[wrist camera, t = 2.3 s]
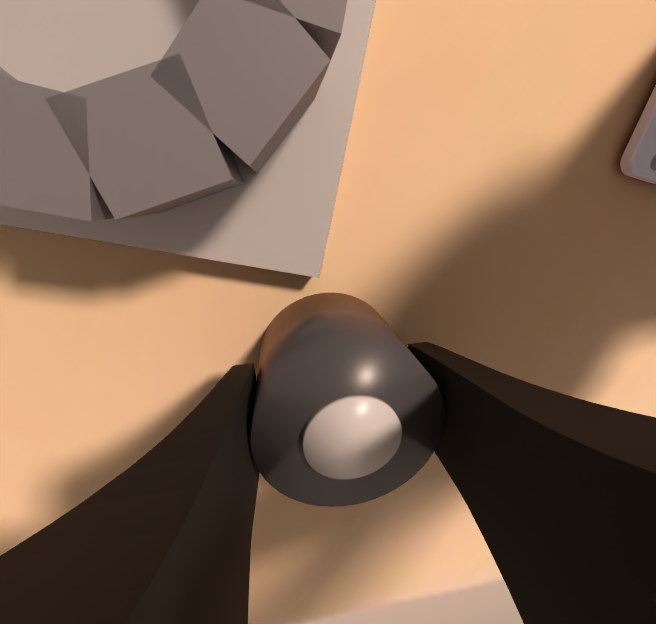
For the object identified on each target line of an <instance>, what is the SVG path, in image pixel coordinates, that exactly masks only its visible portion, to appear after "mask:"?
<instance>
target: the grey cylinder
mask: <svg viewBox="0 0 656 624" xmlns="http://www.w3.org/2000/svg"><path fill="white" fill-rule="evenodd" d="M444 415H445V410H444V403H443V399H442V395H441V392H440V390H439V388H438V386H437V384H436V382H435V381H434V379H433V378H432V377H431V375H430V374H429V373H428V372H427V370H426V369H425V368H424V367H423V366H422V365H421V363H420V362H419V361H418V360H417V359H416V357H415V356H414V355H413V354H412V353H411V351H410V350H409V349H408V348H407V347H406V346H405V344H404V343H403V342H402V341H401V340H400V338H399V337H398V336H397V335H396V334H395V333H394V331H393V330H392V329H391V328H390V327H389V325H388V324H387V323H386V322H385V321H384V320H383V318H382V317H381V316H380V315H379V314H378V313H377V312H376V311H375V310H374V309H373V308H372V307H371V306H370V305H368V304H367V303H366V302H364V301H362V300H360V299H358V298H356V297H353V296H350V295H346V294H341V293H321V294H314V295H311V296H307V297H304V298H302V299H300V300H297V301H296V302H294V303H292V304H290V305H289V306H287V307H286V308H285V309H284V310H282V311H281V312H280V313H279V314H278V315H277V316H276V317H275V318H274V319H273V321H272V322H271V323H270V325H269V326H268V328H267V330H266V332H265V334H264V337H263V339H262V343H261V347H260V356H259V365H258V374H257V383H256V392H255V401H254V411H253V420H252V429H251V450H252V454H253V458H254V461H255V463H256V466H257V468H258V470H259V471H260V473H261V474H262V476H263V477H264V479H265V480H266V481H267V482H268V483H269V484H270V485H271V486H272V487H274V488H275V489H276V490H278V491H279V492H280V493H282V494H284V495H286V496H288V497H289V498H292V499H294V500H297V501H300V502H303V503H307V504H311V505H318V506H331V507H332V506H346V505H354V504H358V503H362V502H366V501H369V500H372V499H375V498H378V497H380V496H382V495H385V494H387V493H389V492H391V491H392V490H394V489H396V488H398V487H399V486H401V485H402V484H404V483H405V482H407V481H408V480H409V479H410V478H411V477H413V476H414V475H415V474H416V473H417V472H418V471H419V470H420V469H421V468H422V467H423V466H424V464H425V463H426V462H427V461H428V460H429V458H430V457H431V455H432V454H433V452H434V450H435V448H436V446H437V444H438V442H439V440H440V437H441V434H442V431H443V425H444Z"/></svg>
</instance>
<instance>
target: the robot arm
mask: <svg viewBox="0 0 656 624" xmlns="http://www.w3.org/2000/svg"><path fill="white" fill-rule="evenodd" d="M620 168H621V170H622V172H623V173H624V174H625V175H627V176H630V177H633V178H636V179H639V180H643V181H646V182H649V183H652V184H656V85H655V87H654V90H653V92H652V94H651V96H650V98H649V100H648V102H647V104H646V107H645V109H644V111H643V113H642V115H641V117H640V119H639V121H638V124H637V126H636V128H635V130H634V132H633V134H632V136H631V138H630V141H629V143H628V145H627V147H626V149H625V151H624V153H623V155H622V158H621V162H620ZM408 349H409V350H410V351H411V353H412V354H413V355H414V356H415V357H416V359H417V360H418V361H419V362H420V363H421V365H422V366H423V367H424V368H425V369H426V370H427V372H428V373H429V374H430V375H431V377H432V378H433V379H434V381H435V382H436V384H437V386H438V388H439V390H440V392H441V395H442V399H443V403H444V410H445V415H444V425H443V431H442V434H441V437H440V440H439V442H438V444H437V446H436V448H435V450H434V451H435V453H436V455H437V456H438V458H439V459H440V461H441V463H442V464H443V466H444V467H445V469H446V471H447V472H448V474H449V475H450V477H451V479H452V480H453V482H454V483H455V485H456V486H457V488H458V490H459V491H460V493H461V495H462V497H463V498H464V500H465V502H466V504H467V505H468V507H469V509H470V511H471V513H472V515H473V517H474V519H475V521H476V523H477V525H478V527H479V529H480V531H481V533H482V535H483V537H484V539H485V541H486V543H487V545H488V547H489V549H490V551H491V554H492V556H493V558H494V560H495V562H496V564H497V566H498V568H499V570H500V572H501V574H502V577H503V579H504V581H505V583H506V585H507V587H508V589H509V591H510V593H511V596H512V598H513V600H514V603H515V605H516V607H517V609H518V611H519V613H520V616H521V618H522V620H523V623H524V624H656V418H655V417H651V416H646V415H641V414H637V413H632V412H628V411H624V410H620V409H616V408H612V407H608V406H604V405H600V404H596V403H592V402H588V401H585V400H581V399H578V398H574V397H571V396H568V395H564V394H561V393H558V392H555V391H551V390H548V389H545V388H542V387H539V386H536V385H533V384H530V383H527V382H525V381H522V380H519V379H517V378H514V377H511V376H509V375H506V374H503V373H501V372H499V371H496V370H494V369H491V368H489V367H486V366H484V365H482V364H479V363H477V362H475V361H472V360H470V359H468V358H465V357H463V356H461V355H458V354H456V353H454V352H451V351H449V350H447V349H444V348H442V347H439V346H437V345H434V344H431V343H428V342H423V343H415V344H408ZM256 383H257V380H256V374H255V368H254V363H252V364H244V365H235V366H233V367H232V368H231V369H230V370H229V371H228V372H227V373H226V374H225V375H224V377H223V378H222V379H221V380H220V381H219V382H218V384H217V385H216V386H215V387H214V388H213V389H212V391H211V392H210V393H209V394H208V395H207V396H206V397H205V398H204V399H203V400H202V402H201V403H200V404H199V405H198V406H197V407H196V408H195V409H194V410H193V411H192V412H191V413H190V414H189V415H188V416H187V417H186V418H185V419H184V420H183V421H182V422H181V423H180V424H179V425H178V426H177V427H176V428H175V429H174V430H173V431H172V432H171V433H170V434H169V435H168V436H166V437H165V438H164V439H163V440H162V441H161V442H160V443H159V444H157V445H156V446H155V447H154V448H153V449H152V450H150V451H149V452H148V453H147V454H146V455H144V456H143V457H142V458H141V459H140V460H138V461H137V462H136V463H135V464H133V465H132V466H131V467H130V468H128V469H127V470H126V471H124V472H123V473H122V474H120V475H119V476H118V477H116V478H115V479H113V480H112V481H111V482H109V483H108V484H107V485H105V486H104V487H103V488H101V489H100V490H99V491H97V492H96V493H94V494H93V495H92V496H90V497H89V498H88V499H86V500H85V501H84V502H82V503H81V504H79V505H78V506H76V507H75V508H73V509H72V510H70V511H69V512H67V513H66V514H65V515H63V516H62V517H60V518H59V519H57V520H56V521H54V522H53V523H51V524H50V525H48V526H47V527H45V528H43V529H42V530H40V531H39V532H37V533H36V534H34V535H33V536H31V537H29V538H28V539H26V540H25V541H23V542H22V543H20V544H18V545H17V546H15V547H14V548H12V549H11V550H9V551H7V552H6V553H4V554H2V555H1V556H0V624H248V598H249V573H250V549H251V537H252V526H253V519H254V511H255V503H256V495H257V488H258V480H259V472H260V471H259V470H258V468H257V466H256V463H255V461H254V458H253V454H252V450H251V429H252V420H253V411H254V401H255V392H256Z"/></svg>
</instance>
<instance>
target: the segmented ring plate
mask: <svg viewBox="0 0 656 624" xmlns="http://www.w3.org/2000/svg"><path fill="white" fill-rule="evenodd" d="M375 3H376V0H0V224H1V225H7V226H13V227H19V228H25V229H30V230H36V231H42V232H48V233H54V234H60V235H66V236H72V237H78V238H84V239H90V240H96V241H102V242H108V243H114V244H120V245H126V246H132V247H138V248H144V249H150V250H156V251H162V252H168V253H174V254H179V255H185V256H191V257H197V258H203V259H209V260H215V261H221V262H227V263H233V264H239V265H245V266H251V267H257V268H263V269H269V270H275V271H281V272H287V273H293V274H299V275H305V276H311V277H317V278H320V273H321V268H322V263H323V258H324V253H325V249H326V244H327V239H328V234H329V229H330V224H331V219H332V214H333V209H334V204H335V199H336V195H337V190H338V185H339V180H340V175H341V170H342V165H343V160H344V155H345V150H346V145H347V141H348V136H349V131H350V126H351V121H352V116H353V111H354V106H355V101H356V96H357V91H358V87H359V82H360V77H361V72H362V67H363V62H364V57H365V52H366V47H367V42H368V37H369V33H370V28H371V23H372V18H373V13H374V8H375Z"/></svg>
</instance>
